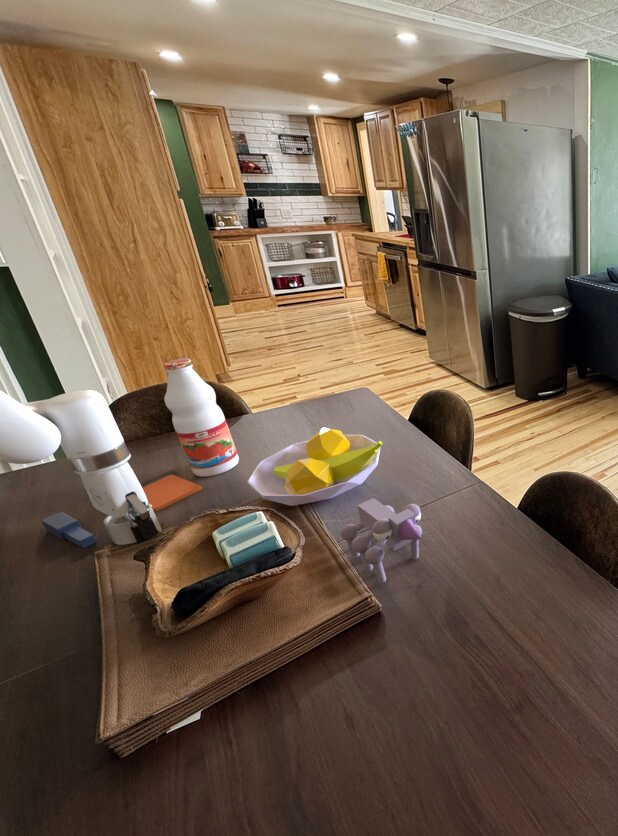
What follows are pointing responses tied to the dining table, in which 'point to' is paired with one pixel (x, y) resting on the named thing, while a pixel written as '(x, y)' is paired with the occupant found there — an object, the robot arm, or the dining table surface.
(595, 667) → the dining table surface
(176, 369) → the fruit juice
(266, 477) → the fruit bowl
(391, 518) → the toy sheep
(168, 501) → the orange tile
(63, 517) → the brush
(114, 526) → the white round cup
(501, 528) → the dining table surface
